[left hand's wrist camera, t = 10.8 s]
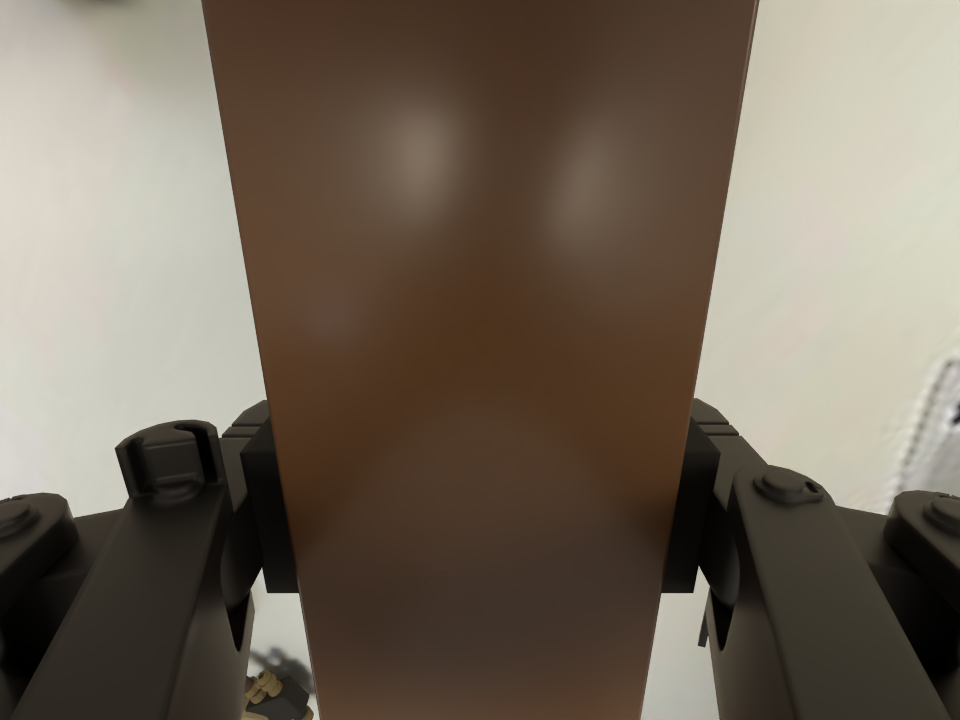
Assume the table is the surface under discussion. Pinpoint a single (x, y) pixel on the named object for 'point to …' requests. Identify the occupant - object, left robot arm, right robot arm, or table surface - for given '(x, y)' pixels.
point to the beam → (480, 327)
